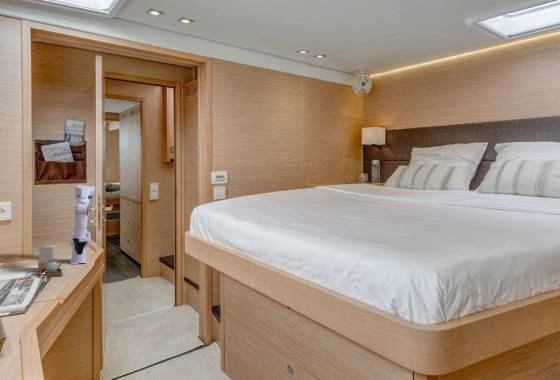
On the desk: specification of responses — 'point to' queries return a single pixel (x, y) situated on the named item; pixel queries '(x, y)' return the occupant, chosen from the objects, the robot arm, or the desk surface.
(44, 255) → the skincare box
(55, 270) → the cup
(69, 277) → the desk surface
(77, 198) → the robot arm
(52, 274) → the tray
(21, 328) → the desk surface
